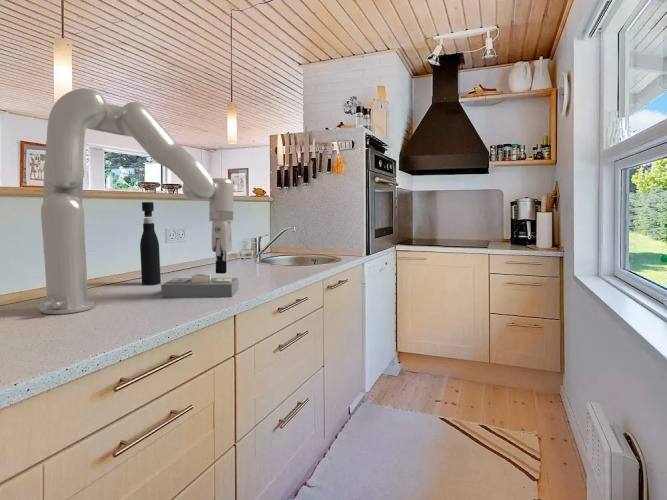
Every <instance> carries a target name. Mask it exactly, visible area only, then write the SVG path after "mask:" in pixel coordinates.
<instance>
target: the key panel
mask: <svg viewBox="0 0 667 500" xmlns="http://www.w3.org/2000/svg"><path fill="white" fill-rule="evenodd" d="M230 278H232V282H222V283H214V281H215V280H216V279H230ZM173 279H190V281H189V282H187V283H170V281H172V280H173ZM160 286H161V288H160V289H161V298H170V299H171V298H232V297H233V296H234V295H235V294H236V293H237V291H238V290H239V277H211V281H210V282H209V283H192V277H178V278H177V277H176V278H175V277H174V278H172V279H170V280H168V281H166V282H164V283H162V284H161V285H160Z"/></svg>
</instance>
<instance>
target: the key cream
mask: <svg viewBox="0 0 667 500" xmlns="http://www.w3.org/2000/svg"><path fill="white" fill-rule="evenodd" d="M191 278H192V283H209V282H210V281H211V278H212V274H211V273H195V274H194V275H191Z"/></svg>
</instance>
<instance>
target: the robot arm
mask: <svg viewBox="0 0 667 500" xmlns="http://www.w3.org/2000/svg"><path fill="white" fill-rule="evenodd" d="M87 129H88V130H93V131H96V132H98V131H99V132H104V133H109V134H113V135H119V136H124V137H132V138H133V139H134V140H135V141H137V143H138V144H139V145H140V147H142V149H143V150H144V151H145V152H146V153H147V154H148V155H149V156H150V158H151V159H152V160H153V161H155V162H156V163H157V164H159V165H160V166H162V167H165V168H167V170H170V172H172V173H173V174H174V175H175V176H177V177H178V179H179V180H180V181H182V187H181V188H182V193H183V194H184V196H185V197H186V198H187V199H188V200H192V201H207V200H209V201H208V202H209V205H208V206H209V209H208V210H209V211H208V214H209V215H208V216H209V218H208V219H209V222H211V223H212V225H211V251H212V252H213V253H215V274H227V271H228V270H227V267H228V266H227V261H228V260H227V253H229V252H231V251H232V250H233V239H232V237H233V236H232V235H233V234H232V223H233V222H234V182H233V180H232V179H230V178H225V177H224V178H222V177H215V178H212V177H211V175H210V174H209V172H207V171H206V169H205V168H204V167H203V165H202V164H201V163H200V162H199V161H198V160H197V159H196V158H195V157H194V156H193V155H192V154H190V153H189V152H188V151H187V150H186V149H185V148H184V147H182V146H181V145H180V144H179V143H178V142H177V141H176V140H175V139H174V138H173V136H171V134H170V133H169V132H168V131H167V129H166V128H165V127H164V126H163V125H162V124H161V123H160V121H159V120H158V119H157V118H156V117H155V116H154V114H153V113H152V112H151V111H150V110H149V109H148V107H146V106H145V105H144V104H142V103H141V102H137V101H133V102H132V101H131V102H127V103H126V104H124V105H123V106H119V105H114V104H111V103H107V101H106V98H105V97H104V96H103V95H102V94H101V93H100V92H99V91H96V90H94V89H92V88H83V87H82V88H77V89H73V90H71V91H68V92H66V93H65V94H63V95H62V96H61V97H59V99H58V100H57V101H56V102H55V103H54V105H53V106H52V107H51V110H50V112H49V115H48V120H47V127H46V138H45V139H46V141H45V156H44V164H43V166H42V167H43V168H42V170H43V188H42V189H43V190H42V191H43V194H42V195H43V196H42V199H43V200H42V204H41V207H40V222H41V229H42V230H41V232H42V245H43V257H44V271H45V272H44V273H45V274H44V275H45V287H46V288H45V290H46V296H45V298H46V299H45V301H43V302H40V303H38V304H37V305H38V306H37V307H38V309H39V310H40V312H41V313H43V314H46V315H63V314H64V315H65V314H72V313H80V312H84V311H87V310H91V309H93V308H94V307H95V306H96V305H95V302H94V301H93V300H89V294H88V293H89V292H88V291H89V289H88V274H87V273H88V271H87V256H86V253H87V252H86V241H85V240H86V238H85V237H86V236H85V211H84V207H83V189H84V177H85V167H84V149H85V136H86V130H87Z"/></svg>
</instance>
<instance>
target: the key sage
mask: <svg viewBox="0 0 667 500" xmlns="http://www.w3.org/2000/svg"><path fill="white" fill-rule="evenodd" d="M229 278H230V279H216V280H215V281H214V283H222V282H232V278H233V277H229Z"/></svg>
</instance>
